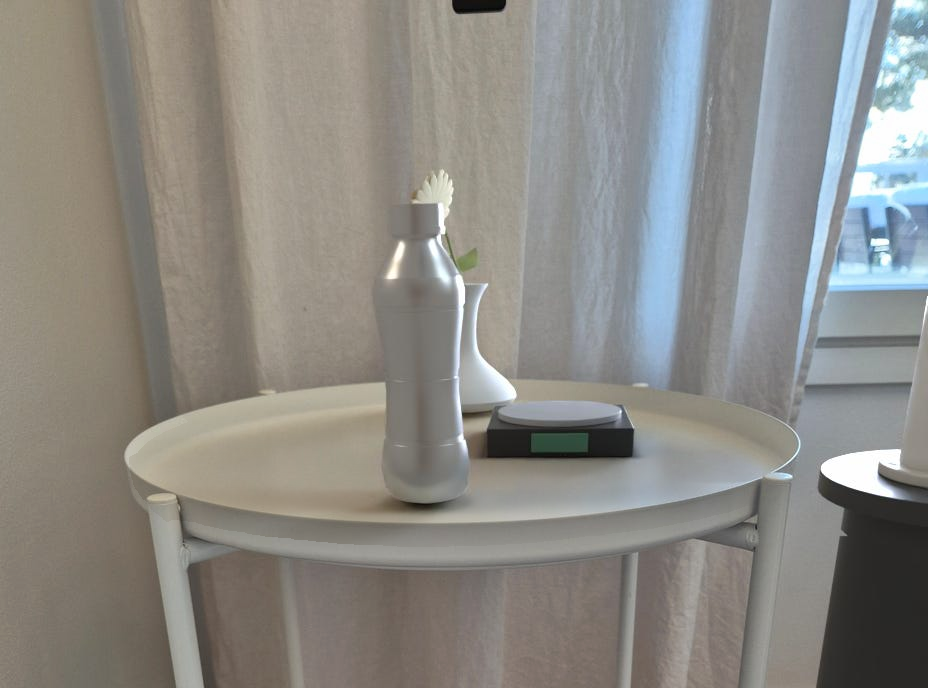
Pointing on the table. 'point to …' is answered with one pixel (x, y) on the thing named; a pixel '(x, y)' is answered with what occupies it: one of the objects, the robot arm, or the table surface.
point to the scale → (560, 430)
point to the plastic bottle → (421, 359)
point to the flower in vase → (467, 316)
